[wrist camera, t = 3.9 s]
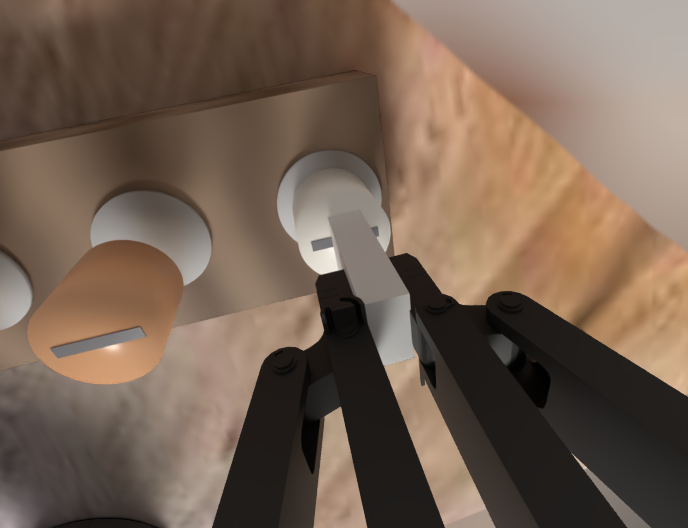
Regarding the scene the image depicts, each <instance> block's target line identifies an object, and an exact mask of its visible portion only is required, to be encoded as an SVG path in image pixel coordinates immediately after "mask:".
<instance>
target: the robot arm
mask: <svg viewBox="0 0 688 528" xmlns="http://www.w3.org/2000/svg"><path fill="white" fill-rule="evenodd" d="M327 218H328V223H329V228H330V232H331V237H332V242H333V247H334V252H335V257H336V262H337V267H338V271H334V272H330V273H326V274H322V275H319V276H318V278H317V281H316V283H315V286H316V290H317V295H318V300H319V304H320V309H321V312H320V315H321V319H322V323H323V327H324V333H323V335H322V337H321V338H320V340H319V341H318V342H317V343H316V344H314V345H313V346H311V347H310V348H308V349H306V350H304V351H303V350H301V349H299V348H296V347H285V348H280V349H278V350H276V351H274V352H272V353H271V354H270V355H269V356H268V357H267V358H266V359H265V360H264V362H263V364H262V366H261V369H260V372H259V376H258V379H257V382H256V385H255V389H254V392H253V395H252V398H251V402H250V405H249V408H248V412H247V415H246V418H245V421H244V425H243V428H242V431H241V434H240V438H239V441H238V444H237V448H236V451H235V454H234V457H233V461H232V464H231V467H230V470H229V474H228V477H227V480H226V484H225V487H224V490H223V493H222V497H221V500H220V503H219V506H218V510H217V513H216V516H215V520H214V523H213V526H212V528H313V526H314V516H315V506H316V497H317V487H318V477H319V468H320V458H321V448H322V439H323V429H324V416H326V415H327V414H329V413H331V412H332V411H334V410H335V409H337V408H339V407H340V406H341V408H342V413H343V418H344V422H345V427H346V431H347V436H348V441H349V445H350V450H351V454H352V459H353V464H354V468H355V473H356V477H357V482H358V487H359V491H360V496H361V500H362V505H363V510H364V514H365V519H366V523H367V528H445V527H444V524H443V521H442V519H441V516H440V513H439V511H438V508H437V506H436V503H435V500H434V498H433V495H432V492H431V490H430V487H429V484H428V482H427V479H426V476H425V474H424V471H423V469H422V466H421V463H420V461H419V458H418V455H417V453H416V450H415V447H414V445H413V442H412V439H411V437H410V434H409V432H408V429H407V426H406V424H405V421H404V418H403V416H402V413H401V410H400V408H399V405H398V402H397V400H396V397H395V395H394V392H393V389H392V387H391V384H390V381H389V379H388V376H387V373H386V371H385V368H384V366H386V365H390V364H393V363H397V362H401V361H405V360H409V359H412V358H415V356H414V348H415V350H416V352H417V354H418V356H419V368H420V381H421V386H423V385H425V381H426V383H427V385H428V387H429V389H430V391H431V393H432V395H433V397H434V400H435V402H436V404H437V406H438V408H439V410H440V412H441V414H442V416H443V418H444V420H445V423H446V425H447V427H448V429H449V431H450V433H451V435H452V437H453V439H454V441H455V443H456V446H457V448H458V450H459V452H460V454H461V456H462V458H463V460H464V462H465V464H466V466H467V469H468V471H469V473H470V475H471V477H472V479H473V481H474V483H475V485H476V487H477V489H478V492H479V494H480V496H481V498H482V500H483V502H484V504H485V506H486V508H487V510H488V512H489V514H490V517H491V519H492V521H493V523H494V525H495V527H496V528H627V527H626V526H625V524H624V523H623V521H622V520H621V519H620V517H619V516H618V515H617V513H616V512H615V511H614V509H613V508H612V507H611V506H610V504H609V503H608V502H607V500H606V499H605V498H604V496H603V495H602V494H601V492H600V491H599V490H598V488H597V487H596V486H595V484H594V483H593V482H592V480H591V479H590V478H589V476H588V475H587V474H586V472H585V471H584V470H583V468H582V467H581V466H580V464H579V463H578V462H577V460H576V459H575V458H574V456H575V457H577V458H578V459H579V460H580V461H581V462H582V463H583V464H584V465H585V466H586V467H587V468H588V469H589V470H590V471H591V472H593V473H594V474H595V475H596V476H597V477H598V478H599V479H600V480H601V481H602V482H603V483H604V484H605V485H607V487H609V488H610V489H611V490H612V491H613V492H614V493H615V494H616V495H617V496H618V497H619V498H620V499H621V500H622V501H624V502H625V503H626V504H627V505H628V506H629V507H630V508H631V509H632V510H633V511H634V512H635V513H636V514H637V515H638V516H640V517H641V518H642V519H643V520H644V521H645V522H646V523H647V524H648V525H649V526H650V527H651V528H688V397H687V396H686V395H684V394H682V393H681V392H679V391H678V390H676V389H674V388H673V387H671V386H670V385H668V384H666V383H665V382H663V381H662V380H660V379H658V378H657V377H655V376H654V375H652V374H650V373H649V372H647V371H646V370H644V369H642V368H641V367H639V366H638V365H636V364H634V363H633V362H631V361H630V360H628V359H626V358H625V357H623V356H622V355H620V354H618V353H617V352H615V351H614V350H612V349H610V348H609V347H607V346H606V345H604V344H602V343H601V342H599V341H598V340H596V339H594V338H593V337H591V336H590V335H588V334H586V333H585V332H583V331H582V330H580V329H578V328H577V327H575V326H574V325H572V324H570V323H569V322H567V321H566V320H564V319H562V318H561V317H559V316H558V315H556V314H554V313H553V312H551V311H550V310H548V309H546V308H545V307H543V306H542V305H540V304H538V303H537V302H535V301H534V300H532V299H530V298H529V297H527V296H525V295H523V294H521V293H517V292H512V291H501V292H498V293H494V294H492V295H491V296H490V297H488V300H487V302H486V305H461V304H459V303H458V302H457V301H456V300H455V299H454V298H453V297H451V296H448V295H445V294H442V293H441V291H440V290H439V289H438V287H437V286H436V284H435V283H434V282H433V280H432V279H431V278H430V276H429V275H428V273H427V272H426V271H425V269H424V268H423V267H422V265H421V264H420V262H419V261H418V259H417V258H415V257H413V256H411V255H410V254H408V253H405V254H401V255H397V256H393V257H389V258H388V256H387V254H386V253H385V251H384V249H383V248H382V246H381V244H380V243H379V241H378V239H377V237H376V236H375V234H374V232H373V231H372V229H371V227H370V226H369V224H368V222H367V220H366V219H365V217H364V215H363V214H362V212H361V210H356V211H351V212H347V213H342V214H338V215H334V216H329V217H327ZM424 379H425V380H424ZM571 453H572V454H573V455H574V456H573V455H572V454H571ZM56 528H154V527H152V526H149V525H147V524H143V523H140V522H135V521H130V520H121V519H94V520H85V521H79V522H74V523H69V524H65V525H62V526H59V527H56Z"/></svg>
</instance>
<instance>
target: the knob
mask: <svg viewBox="0 0 688 528" xmlns="http://www.w3.org/2000/svg"><path fill="white" fill-rule="evenodd" d="M356 210H361V212H362V214H363V215H364V217H365V219H366V220H367V222H368V224H369V226H370V227H371V229H372V231H373V232H374V234H375V236H376V237H377V239H378V241H379V243H380V244H381V246H382V248H383V249H384V251H385V252H386V250H387V248H388V245H389V242H390V236H391V228H390V222H389V219H388V217H387V215H386V213H385V211H384V210H383V209H382V207H381V206H380V205H379V203H378V202H377V201H376V199H375V198H374V197H373V195H372V194H371V193H370V191H369V190H368V189H367V187H366V186H365V184H364V183H363V182H362V181H361V180H360V179H359V177H357V176H356V175H355V174H353V173H351V172H349V171H347V170H344V169H339V168H328V169H323V170H319V171H317V172H315V173H313V174H311V175H310V176H308V177H307V178H306V179H305V180H304V181H303V182H302V183H301V184H300V185H299V187H298V188H297V190H296V192H295V195H294V198H293V203H292V212H293V217H294V223H295V228H296V234H297V239H298V245H299V250H300V253H301V255H302V257H303V259H304V261H305V262H306V264H307V265H308V266H309V267H310V268H311V269H313V270H314V271H315V272H317V273H319V274H321V275H322V274H326V273H330V272H334V271H338V267H337V262H336V257H335V252H334V247H333V242H332V237H331V232H330V228H329V223H328V218H327V217H329V216H334V215H338V214H342V213H347V212H351V211H356Z"/></svg>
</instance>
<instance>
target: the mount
mask: <svg viewBox="0 0 688 528" xmlns="http://www.w3.org/2000/svg"><path fill="white" fill-rule="evenodd" d="M328 168H339V169H344V170H347V171H349V172H351V173H353V174H355V175H356V176H357V177H359V179H360V180H361V181H362V182H363V183H364V184H365V186H366V187H367V189H368V190H369V191H370V193H371V194H372V195H373V197H374V198H375V199H376V201H377V202H378V203H379V205H380V206H381V207H382V209H383V210H384V211H385V213H386V215H387V217H388V219H389V222H390V228H391V236H390V242H389V245H388V248H387V250H386V252H385V253H386V254H387V256H388V258H389V257H393V256H394V246H393V236H392V227H391V217H390V207H389V197H388V187H387V177H386V167H385V158H384V148H383V138H382V128H381V118H380V108H379V98H378V89H377V79H376V75H372V74H367V73H363V72H359V71H355V70H354V71H349V72H344V73H339V74H334V75H329V76H324V77H319V78H314V79H309V80H304V81H299V82H294V83H289V84H284V85H279V86H274V87H269V88H264V89H259V90H254V91H249V92H244V93H239V94H234V95H229V96H224V97H219V98H214V99H209V100H204V101H199V102H194V103H189V104H184V105H179V106H174V107H169V108H164V109H159V110H154V111H149V112H144V113H139V114H134V115H129V116H124V117H118V118H113V119H108V120H103V121H98V122H93V123H88V124H83V125H78V126H73V127H68V128H63V129H58V130H53V131H48V132H43V133H38V134H33V135H28V136H23V137H18V138H13V139H8V140H3V141H0V370H4V369H8V368H12V367H16V366H20V365H24V364H28V363H32V362H36V361H40V359H39V358H38V357H37V356H36V354H35V353H34V352H33V350H32V348H31V346H30V343H29V340H28V335H27V330H28V324H29V321H30V319H31V317H32V315H33V314H34V313H35V311H36V310H37V309H38V308H39V307H40V306H41V304H42V303H43V302H44V301H45V300H46V299H47V297H48V296H49V295H50V294H51V293H52V292H53V290H54V289H55V288H56V287H57V286H58V285H59V284H60V282H61V281H62V280H63V279H64V278H65V277H66V275H67V274H68V273H69V272H70V271H71V270H72V268H73V267H74V266H75V265H76V264H77V263H78V262H79V260H80V259H81V258H82V257H83V256H84V255H85V253H86V252H88V251H89V250H90V249H91V248H93V247H95V246H96V245H99V244H101V243H104V242H108V241H113V240H132V241H138V242H142V243H145V244H148V245H151V246H153V247H155V248H157V249H159V250H160V251H162V252H164V253H165V254H166V255H167V256H169V257H170V258H171V259H172V260H173V261H174V263H175V264H176V265H177V267H178V268H179V270H180V272H181V274H182V277H183V282H184V289H183V294H182V298H181V301H180V304H179V307H178V310H177V313H176V316H175V319H174V322H173V325H172V328H175V327H179V326H183V325H187V324H191V323H195V322H199V321H203V320H207V319H211V318H215V317H219V316H224V315H228V314H232V313H236V312H240V311H244V310H248V309H252V308H256V307H260V306H264V305H268V304H272V303H276V302H281V301H285V300H289V299H293V298H297V297H301V296H305V295H309V294H313V293H317V290H316V286H315V283H316V281H317V278H318V276H319V275H321V274H319V273H317V272H315V271H314V270H313V269H311V268H310V267H309V266H308V265H307V264H306V262H305V261H304V259H303V257H302V255H301V253H300V250H299V245H298V239H297V234H296V228H295V223H294V217H293V212H292V203H293V198H294V195H295V192H296V190H297V188H298V187H299V185H300V184H301V183H302V182H303V181H304V180H305V179H306V178H307V177H308V176H310V175H311V174H313V173H315V172H317V171H319V170H323V169H328Z"/></svg>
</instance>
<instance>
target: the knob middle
mask: <svg viewBox="0 0 688 528" xmlns="http://www.w3.org/2000/svg"><path fill="white" fill-rule="evenodd" d="M183 289H184V282H183V277H182V274H181V272H180V270H179V268H178V267H177V265H176V264H175V263H174V261H173V260H172V259H171V258H170V257H169V256H167V255H166V254H165V253H164V252H162V251H160V250H159V249H157V248H155V247H153V246H151V245H148V244H145V243H142V242H138V241H132V240H113V241H108V242H104V243H101V244H99V245H96V246H95V247H93V248H91V249H90V250H89V251H88V252H86V253H85V255H84V256H83V257H82V258H81V259H80V260H79V262H78V263H77V264H76V265H75V266H74V267H73V268H72V270H71V271H70V272H69V273H68V274H67V275H66V277H65V278H64V279H63V280H62V281H61V282H60V284H59V285H58V286H57V287H56V288H55V289H54V290H53V292H52V293H51V294H50V295H49V296H48V297H47V299H46V300H45V301H44V302H43V303H42V304H41V306H40V307H39V308H38V309H37V310H36V311H35V313H34V314H33V315H32V317H31V319H30V321H29V324H28V330H27V335H28V340H29V343H30V346H31V348H32V350H33V352H34V353H35V354H36V356H37V357H38V358H39V359H40V360H41V361H42V362H43V363H44V364H45V365H47V366H48V367H49V368H51V369H52V370H54V371H56V372H57V373H59V374H61V375H63V376H66V377H68V378H71V379H74V380H78V381H82V382H86V383H93V384H117V383H123V382H128V381H131V380H135V379H137V378H139V377H142V376H143V375H145V374H147V373H148V372H150V371H151V370H152V369H153V368H154V367H155V366H156V365H157V364H158V363H159V361H160V360H161V358H162V356H163V353H164V350H165V347H166V344H167V341H168V338H169V334H170V331H171V328H172V325H173V322H174V319H175V316H176V313H177V310H178V307H179V304H180V301H181V298H182V294H183Z"/></svg>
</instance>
